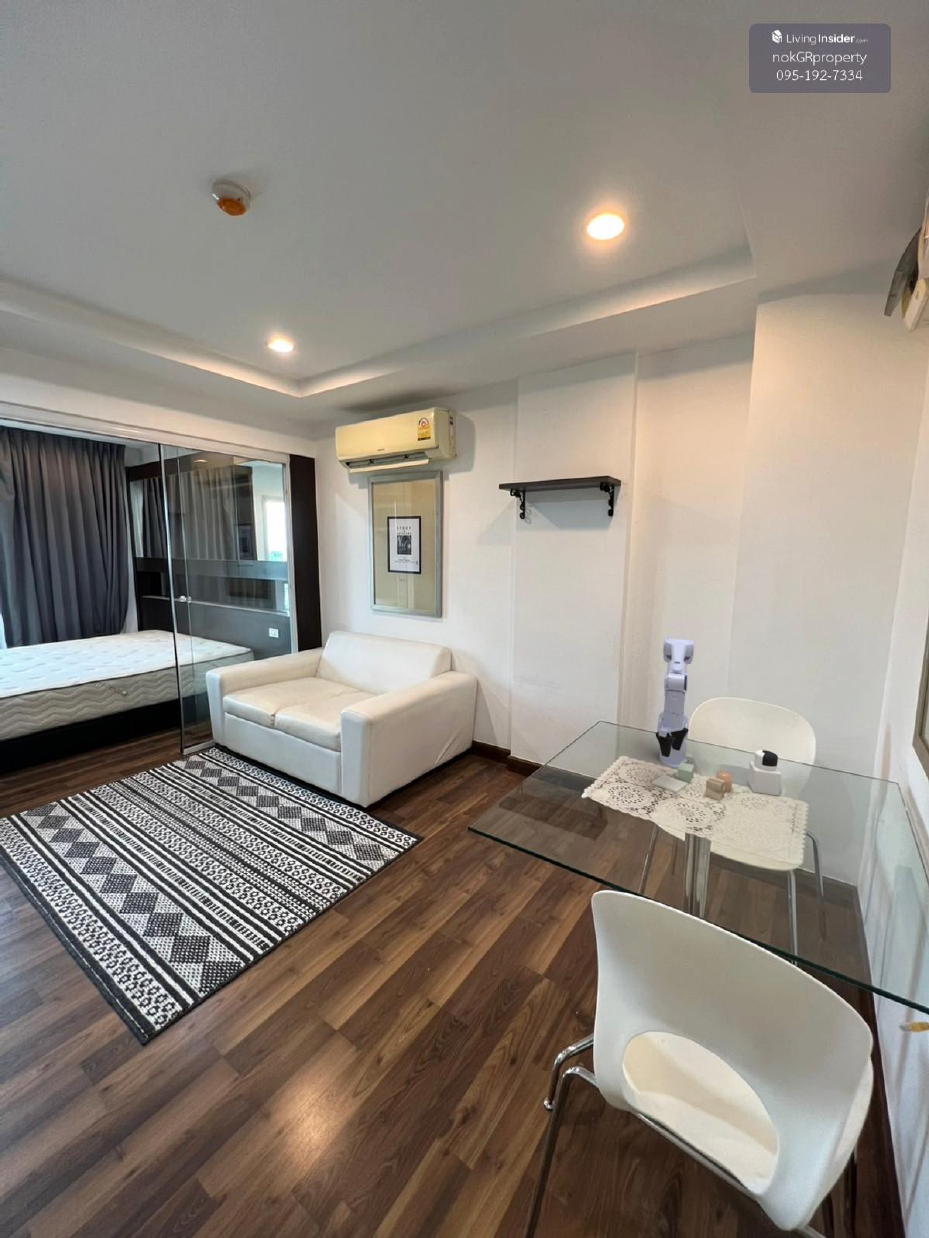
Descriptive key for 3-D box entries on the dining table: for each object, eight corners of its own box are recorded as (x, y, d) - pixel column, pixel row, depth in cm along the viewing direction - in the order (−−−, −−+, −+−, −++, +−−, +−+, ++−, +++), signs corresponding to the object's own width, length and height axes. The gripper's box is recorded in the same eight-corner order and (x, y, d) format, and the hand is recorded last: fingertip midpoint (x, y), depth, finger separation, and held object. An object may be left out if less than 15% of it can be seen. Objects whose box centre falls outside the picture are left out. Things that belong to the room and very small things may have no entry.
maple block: (710, 791, 149) (711, 776, 148) (724, 796, 146) (725, 781, 145) (705, 796, 146) (706, 780, 145) (719, 801, 143) (720, 785, 142)
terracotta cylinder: (718, 784, 154) (719, 769, 153) (733, 789, 150) (734, 774, 150) (713, 788, 151) (714, 773, 150) (728, 793, 147) (729, 778, 147)
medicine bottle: (773, 785, 153) (776, 749, 152) (779, 796, 146) (783, 758, 145) (747, 782, 155) (750, 746, 154) (752, 792, 149) (756, 755, 147)
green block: (676, 780, 156) (680, 773, 161) (690, 783, 154) (693, 776, 159) (677, 768, 156) (681, 762, 161) (691, 771, 153) (694, 765, 158)
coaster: (663, 776, 159) (663, 774, 158) (687, 785, 153) (687, 783, 153) (651, 783, 153) (651, 782, 153) (676, 793, 147) (676, 791, 147)
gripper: (671, 703, 158) (668, 743, 160) (650, 712, 148) (647, 755, 150) (693, 708, 153) (690, 749, 155) (673, 718, 143) (670, 762, 145)
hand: (670, 752), depth 152 cm, fingers open, 7 cm apart
